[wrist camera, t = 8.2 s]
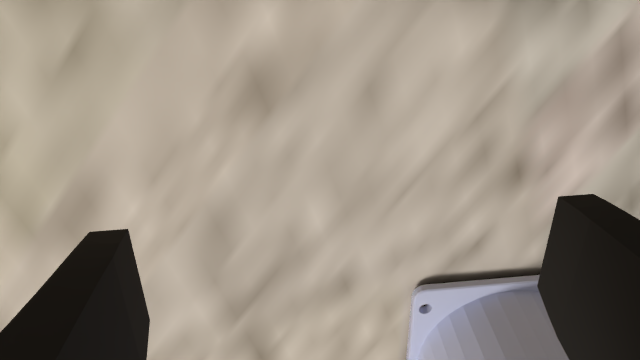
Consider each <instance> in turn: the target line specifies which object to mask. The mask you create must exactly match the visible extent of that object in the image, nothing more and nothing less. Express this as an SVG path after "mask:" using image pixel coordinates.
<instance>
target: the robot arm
mask: <svg viewBox="0 0 640 360" xmlns="http://www.w3.org/2000/svg"><path fill="white" fill-rule="evenodd" d="M425 304H428V305H426V306H424V307H421V306H422V305H425ZM149 322H150V319H149V315H148V310H147V306H146V302H145V298H144V294H143V290H142V285H141V281H140V277H139V273H138V269H137V265H136V260H135V256H134V252H133V248H132V244H131V240H130V235H129V231H128V229H123V230H109V231H96V232H89V233H88V234H87V235H86V237H85V238H84V239H83V240H82V241H81V242H80V243H79V244H78V245H77V247H76V248H75V249H74V250H73V251H72V252H71V253H70V255H69V256H68V257H67V258H66V259H65V260H64V262H63V263H62V264H61V265H60V266H59V267H58V269H57V270H56V271H55V272H54V273H53V274H52V275H51V277H50V278H49V279H48V280H47V281H46V282H45V284H44V285H43V286H42V287H41V288H40V289H39V290H38V292H37V293H36V294H35V295H34V296H33V297H32V298H31V299H30V300H29V302H28V303H27V304H26V305H25V306H24V307H23V308H22V309H21V310H20V312H19V313H18V314H17V315H16V316H15V317H14V318H13V319H12V320H11V321H10V323H9V324H8V325H7V326H6V327H5V328H4V329H3V330H2V331H1V332H0V360H146V357H147V347H148V335H149ZM406 360H640V220H638V219H637V218H635V217H633V216H632V215H630V214H628V213H627V212H625V211H623V210H622V209H620V208H618V207H616V206H615V205H613V204H611V203H609V202H607V201H606V200H604V199H602V198H600V197H598V196H596V195H594V194H587V195H574V196H561V197H558V200H557V205H556V209H555V213H554V217H553V222H552V226H551V230H550V234H549V238H548V243H547V247H546V251H545V255H544V260H543V264H542V268H541V272H540V275H532V276H520V277H508V278H497V279H485V280H473V281H461V282H449V283H438V284H426V285H421V286H419V287H417V288H416V289H415V290H414V291H413V293H412V299H411V311H410V322H409V334H408V345H407V357H406Z"/></svg>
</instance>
